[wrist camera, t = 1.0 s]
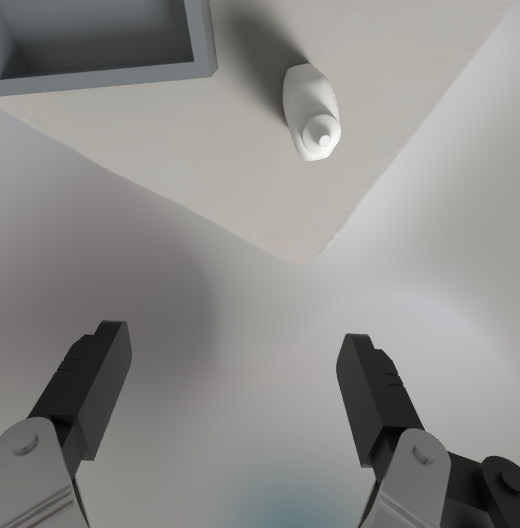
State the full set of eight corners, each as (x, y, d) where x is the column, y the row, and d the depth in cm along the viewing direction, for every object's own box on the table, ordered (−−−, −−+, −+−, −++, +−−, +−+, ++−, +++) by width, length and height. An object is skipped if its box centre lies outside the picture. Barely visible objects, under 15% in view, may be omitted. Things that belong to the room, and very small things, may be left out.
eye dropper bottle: (339, 75, 27) (383, 104, 18) (311, 140, 30) (337, 194, 21) (291, 55, 26) (310, 75, 17) (268, 124, 30) (273, 174, 20)
